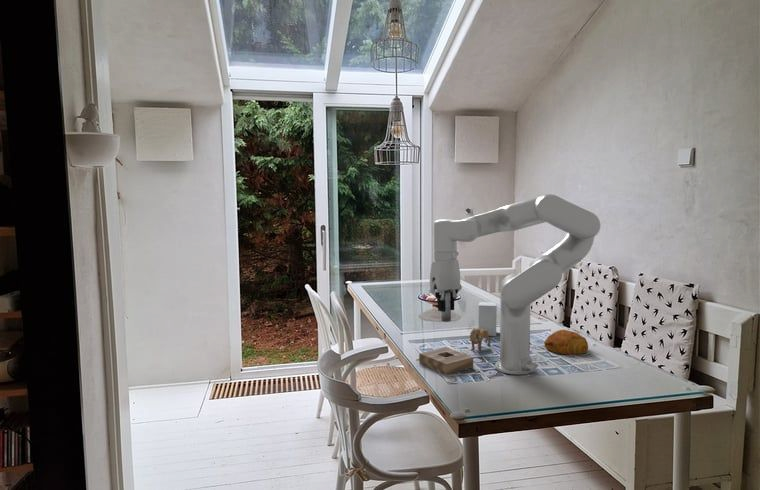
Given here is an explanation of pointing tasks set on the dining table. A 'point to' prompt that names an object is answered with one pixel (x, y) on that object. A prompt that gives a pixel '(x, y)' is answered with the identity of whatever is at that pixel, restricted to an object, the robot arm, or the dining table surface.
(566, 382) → the dining table surface
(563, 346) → the croissant
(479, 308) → the supplement box
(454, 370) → the block
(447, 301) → the key peg
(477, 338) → the lion figurine
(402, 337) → the dining table surface
